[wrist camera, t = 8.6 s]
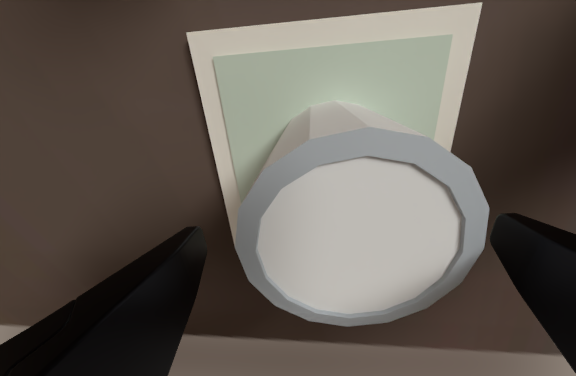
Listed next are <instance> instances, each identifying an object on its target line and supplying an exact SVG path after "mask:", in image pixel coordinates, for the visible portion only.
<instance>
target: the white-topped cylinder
mask: <svg viewBox="0 0 576 376" xmlns="http://www.w3.org/2000/svg"><path fill="white" fill-rule="evenodd" d="M488 216H489V206H488V203H487V201H486V199H485V197H484V194H483V192H482V190H481V188H480V185H479V183H478V181H477V179H476V176H475V174H474V172H473V170H472V167H470V166H469V165H467V164H466V163H465V162H463V161H462V160H460V159H459V158H457V157H456V156H455V155H453V154H452V153H450V152H449V151H448V150H446V149H445V148H443V147H442V146H441V145H439V144H438V143H436V142H435V141H434V140H432V139H431V138H429V137H427V136H425V135H423V134H421V133H419V132H417V131H414V130H412V129H410V128H408V127H406V126H404V125H402V124H399V123H397V122H395V121H393V120H391V119H389V118H386V117H384V116H382V115H380V114H378V113H376V112H373V111H371V110H369V109H367V108H365V107H363V106H360V105H358V104H354V103H348V102H342V101H337V100H333V101H328V102H324V103H320V104H315V105H311V106H309V107H308V108H307V109H305V110H304V111H302V112H301V113H300V114H298V115H297V116H295V117H294V118H292V119H291V121H290V122H289V124H288V126H287V127H286V129H285V130H284V132H283V134H282V135H281V137H280V138H279V140H278V142H277V144H276V145H275V147H274V149H273V150H272V152H271V154H270V156H269V157H268V159H267V161H266V162H265V164H264V166H263V168H262V169H261V171H260V173H259V174H258V176H257V178H256V180H255V181H254V183H253V185H252V187H251V188H250V190H249V192H248V193H247V195H246V197H245V199H244V200H243V202H242V204H241V205H240V207H239V209H238V218H237V229H236V241H235V249H236V252H237V254H238V257H239V259H240V261H241V264H242V266H243V269H244V271H245V273H246V276H247V278H248V280H249V282H250V283H251V284H252V285H254V286H255V287H256V288H257V289H258V290H259V291H260V292H261V293H262V294H263V295H264V296H265V297H266V298H267V299H268V300H269V301H270V302H271V303H273V304H274V305H275V306H277V307H279V308H281V309H283V310H286V311H288V312H290V313H292V314H295V315H297V316H299V317H301V318H303V319H306V320H308V321H313V322H319V323H326V324H333V325H340V326H346V327H349V326H359V325H368V324H378V323H388V322H391V321H393V320H396V319H399V318H402V317H404V316H407V315H410V314H412V313H415V312H418V311H421V310H423V309H426V308H428V307H429V306H431V305H432V304H433V303H435V302H436V301H437V300H439V299H440V298H442V297H443V296H444V295H446V294H447V293H448V292H450V291H451V290H453V289H454V288H455V287H457V286H458V285H459V284H461V283H462V281H463V280H464V278H465V277H466V275H467V274H468V272H469V271H470V269H471V268H472V266H473V265H474V263H475V262H476V260H477V259H478V257H479V256H480V254H481V253H482V251H483V250H484V245H485V238H486V231H487V223H488Z"/></svg>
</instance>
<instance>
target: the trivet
mask: <svg viewBox="0 0 576 376" xmlns="http://www.w3.org/2000/svg"><path fill="white" fill-rule="evenodd" d="M481 7H482V3H472V4H463V5H453V6H443V7H433V8H423V9H413V10H403V11H394V12H384V13H374V14H364V15H354V16H344V17H334V18H325V19H315V20H305V21H295V22H285V23H275V24H265V25H256V26H246V27H236V28H226V29H216V30H206V31H196V32H187V33H186V34H187V38H188V43H189V47H190V52H191V56H192V60H193V65H194V69H195V74H196V78H197V82H198V87H199V91H200V96H201V100H202V104H203V109H204V113H205V118H206V122H207V126H208V131H209V135H210V140H211V144H212V149H213V153H214V157H215V162H216V166H217V171H218V175H219V179H220V184H221V188H222V193H223V197H224V201H225V206H226V210H227V215H228V219H229V223H230V228H231V232H232V237H233V241H234V245H235V241H236V229H237V218H238V209H239V207H240V205H241V204H242V202H243V200H244V199H245V197H246V195H247V193H248V192H249V190H250V188H251V187H252V185H253V183H254V181H255V180H256V178H257V176H258V174H259V173H260V171H261V169H262V168H263V166H264V164H265V162H266V161H267V159H268V157H269V156H270V154H271V152H272V150H273V149H274V147H275V145H276V144H277V142H278V140H279V138H280V137H281V135H282V134H283V132H284V130H285V129H286V127H287V126H288V124H289V122H290V121H291V119H292V118H294V117H295V116H297V115H298V114H300V113H301V112H302V111H304V110H305V109H307V108H308V107H309V106H311V105H315V104H320V103H324V102H328V101H333V100H337V101H342V102H348V103H354V104H358V105H360V106H363V107H365V108H367V109H369V110H371V111H373V112H376V113H378V114H380V115H382V116H384V117H386V118H389V119H391V120H393V121H395V122H397V123H399V124H402V125H404V126H406V127H408V128H410V129H412V130H414V131H417V132H419V133H421V134H423V135H425V136H427V137H429V138H431V139H432V140H434V141H435V142H436V143H438V144H439V145H441V146H442V147H443V148H445V149H446V150H448V151H449V152H450V151H451V146H452V142H453V137H454V132H455V128H456V123H457V118H458V114H459V109H460V105H461V100H462V95H463V91H464V86H465V81H466V77H467V72H468V67H469V63H470V58H471V53H472V49H473V44H474V39H475V35H476V30H477V25H478V21H479V16H480V12H481ZM235 250H236V249H235Z"/></svg>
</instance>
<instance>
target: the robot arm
mask: <svg viewBox="0 0 576 376" xmlns="http://www.w3.org/2000/svg"><path fill="white" fill-rule="evenodd" d="M490 242H491V245H492V247H493V248H494V250H495V252H496V254H497V256H498V257H499V259H500V261H501V263H502V264H503V266H504V268H505V270H506V271H507V273H508V275H509V277H510V279H511V280H512V282H513V284H514V285H515V287H516V289H517V290H518V292H519V293H520V295H521V296H522V298H523V299H524V301H525V302H526V304H527V305H528V306H529V308H530V309H531V311H532V312H533V314H534V315H535V316H536V318H537V319H538V321H539V322H540V324H541V325H542V326H543V328H544V329H545V331H546V332H547V333H548V335H549V336H550V338H551V339H552V341H553V342H554V343H555V345H556V346H557V348H558V349H559V350H560V352H561V353H562V355H563V356H564V358H565V359H566V360H567V362H568V363H569V365H570V366H571V368H572V369H573V370H574V372H575V373H576V234H573V233H571V232H568V231H565V230H562V229H559V228H557V227H554V226H551V225H548V224H545V223H542V222H540V221H537V220H534V219H531V218H528V217H525V216H523V215H520V214H517V213H505V214H499V215H498V216H497V217H496V220H495V223H494V226H493V229H492V232H491V234H490ZM206 255H207V246H206V242H205V239H204V235H203V232H202V229H201V228H200V227H199V226H193V227H186V228H184V229H183V230H181V231H180V232H178V233H177V234H175V235H174V236H172V237H170V238H169V239H167V240H166V241H164V242H163V243H161V244H160V245H158V246H156V247H155V248H153V249H152V250H150V251H149V252H147V253H146V254H144V255H142V256H141V257H139V258H138V259H136V260H135V261H133V262H132V263H130V264H128V265H127V266H125V267H124V268H122V269H121V270H119V271H118V272H116V273H114V274H113V275H111V276H110V277H108V278H107V279H105V280H104V281H102V282H100V283H99V284H97V285H96V286H94V287H93V288H91V289H90V290H88V291H87V292H85V293H83V294H82V295H80V296H79V297H77V299H76V300H72V301H71V302H69V303H68V304H66V305H65V306H63V307H62V308H60V309H59V310H57V311H55V312H54V313H52V314H51V315H49V316H47V317H46V318H44V319H43V320H41V321H39V322H38V323H36V324H35V325H33V326H31V327H30V328H28V329H26V330H25V331H23V332H21V333H20V334H18V335H16V336H14V337H13V338H11V339H9V340H8V341H6V342H4V343H3V344H1V345H0V376H168V373H169V370H170V368H171V365H172V362H173V360H174V357H175V354H176V351H177V349H178V346H179V343H180V340H181V338H182V335H183V332H184V329H185V327H186V324H187V321H188V318H189V316H190V313H191V310H192V307H193V305H194V302H195V299H196V295H197V292H198V288H199V284H200V279H201V275H202V271H203V267H204V263H205V259H206Z"/></svg>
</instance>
